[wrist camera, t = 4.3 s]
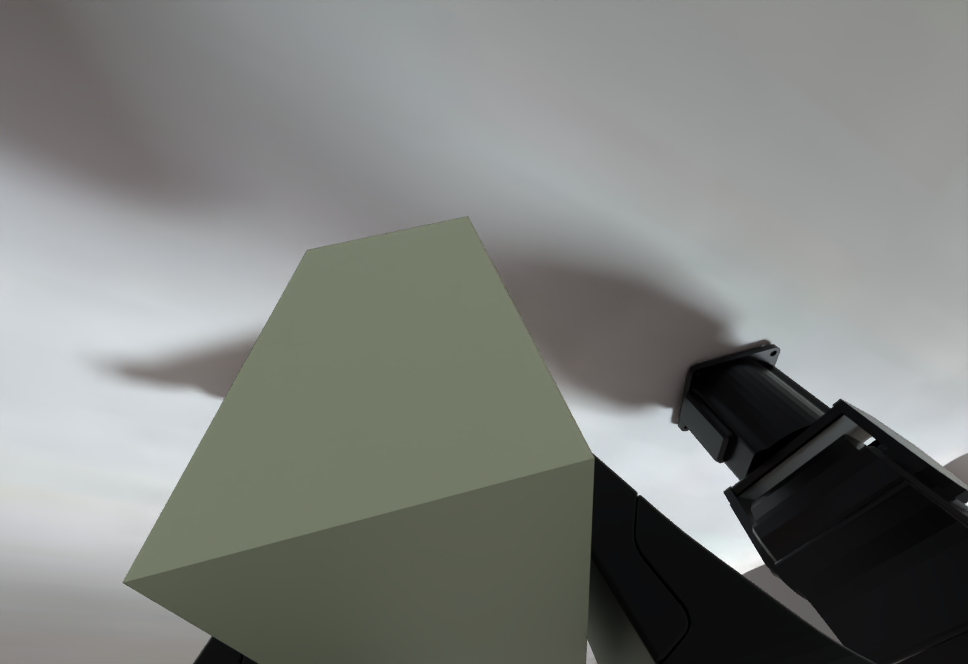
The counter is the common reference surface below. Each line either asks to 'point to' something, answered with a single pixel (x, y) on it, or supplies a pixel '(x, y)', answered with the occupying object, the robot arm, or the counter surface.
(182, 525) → the pale green block
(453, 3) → the counter surface
